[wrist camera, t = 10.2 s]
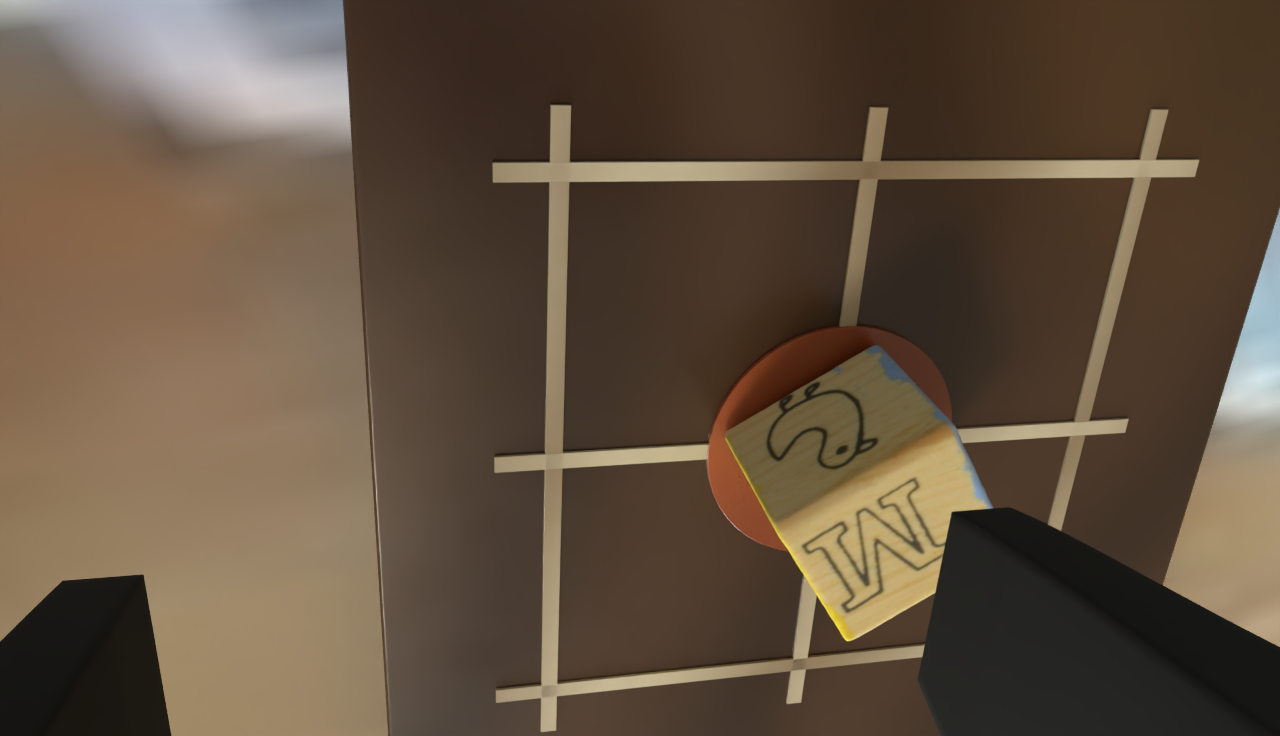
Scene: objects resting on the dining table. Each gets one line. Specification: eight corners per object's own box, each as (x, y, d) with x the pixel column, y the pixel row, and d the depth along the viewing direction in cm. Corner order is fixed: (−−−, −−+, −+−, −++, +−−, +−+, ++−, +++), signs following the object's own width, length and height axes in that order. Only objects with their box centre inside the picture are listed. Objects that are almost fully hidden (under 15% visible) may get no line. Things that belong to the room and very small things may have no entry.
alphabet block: (935, 460, 20) (1021, 556, 17) (790, 547, 20) (852, 654, 18) (872, 335, 19) (955, 418, 16) (716, 429, 19) (772, 527, 16)
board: (397, 848, 23) (398, 900, 22) (333, -215, 15) (328, -220, 14) (1069, 758, 27) (1100, 800, 25) (1332, -149, 18) (1397, -148, 17)
